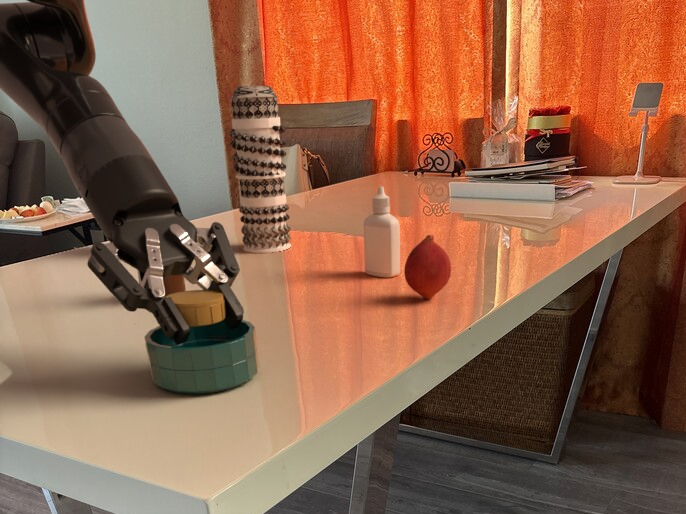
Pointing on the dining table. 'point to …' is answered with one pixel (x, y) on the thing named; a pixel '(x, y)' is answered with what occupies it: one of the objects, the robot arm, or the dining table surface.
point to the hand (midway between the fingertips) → (211, 330)
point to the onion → (427, 268)
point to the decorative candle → (260, 169)
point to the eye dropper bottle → (382, 239)
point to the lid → (200, 306)
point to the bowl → (203, 358)
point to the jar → (174, 284)
